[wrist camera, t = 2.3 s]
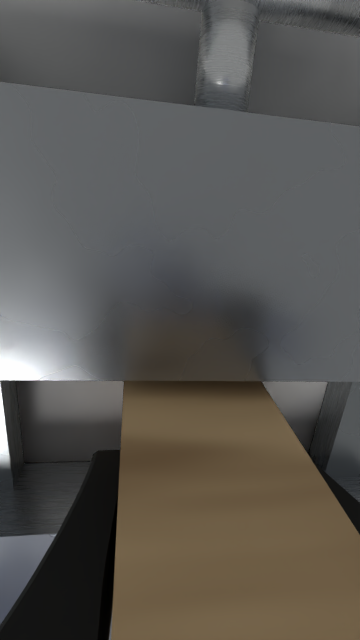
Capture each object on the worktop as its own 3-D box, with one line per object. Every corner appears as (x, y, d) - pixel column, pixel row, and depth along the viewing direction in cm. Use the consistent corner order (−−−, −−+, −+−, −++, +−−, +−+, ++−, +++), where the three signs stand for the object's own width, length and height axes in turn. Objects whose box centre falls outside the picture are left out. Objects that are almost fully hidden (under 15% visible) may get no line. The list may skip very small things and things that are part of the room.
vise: (313, 571, 17) (346, 641, 14) (-11, 598, 15) (-42, 686, 12) (492, 36, 9) (633, -22, 7) (-137, -75, 7) (-295, -228, 4)
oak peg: (227, 444, 13) (382, 879, 5) (122, 447, 13) (102, 944, 4) (242, 352, 12) (496, 748, 4) (125, 350, 11) (102, 819, 3)
